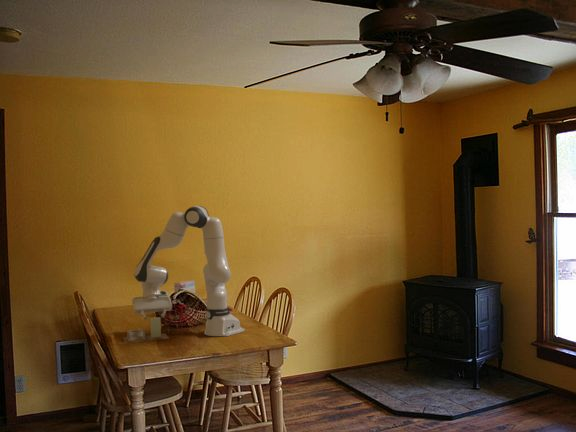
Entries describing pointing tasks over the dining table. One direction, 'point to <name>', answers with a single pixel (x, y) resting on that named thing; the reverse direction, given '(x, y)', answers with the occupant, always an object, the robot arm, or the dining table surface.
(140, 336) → the end cap board
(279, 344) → the dining table surface
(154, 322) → the slat
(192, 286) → the cracker box
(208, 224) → the robot arm
